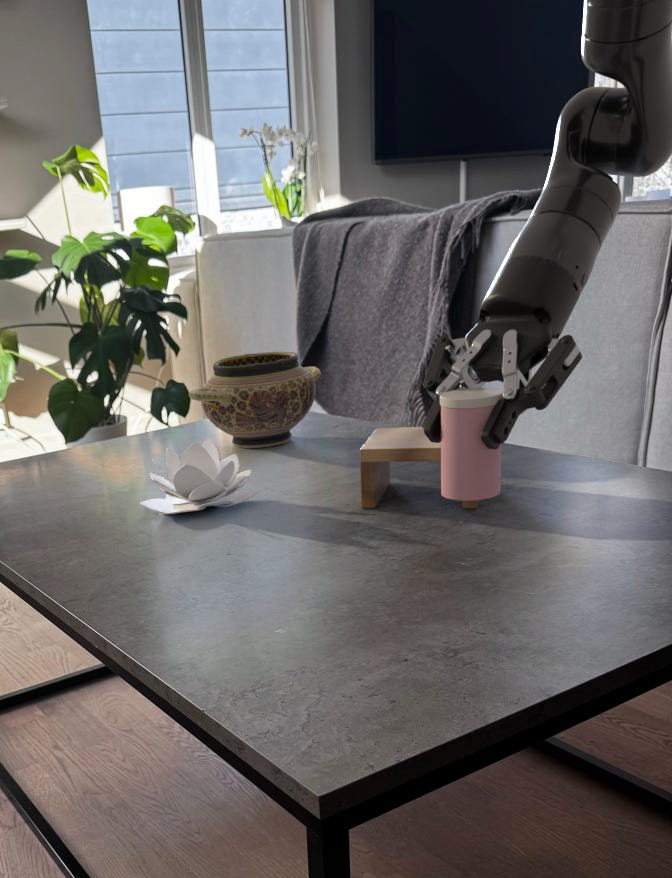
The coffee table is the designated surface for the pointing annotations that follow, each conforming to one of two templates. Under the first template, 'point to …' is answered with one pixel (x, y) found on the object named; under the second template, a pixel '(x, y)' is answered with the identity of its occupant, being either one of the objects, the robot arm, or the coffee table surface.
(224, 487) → the lotus flower
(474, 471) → the tube
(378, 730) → the coffee table surface
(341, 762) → the coffee table surface
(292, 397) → the ceramic bowl
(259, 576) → the coffee table surface
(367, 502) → the shelf stand
